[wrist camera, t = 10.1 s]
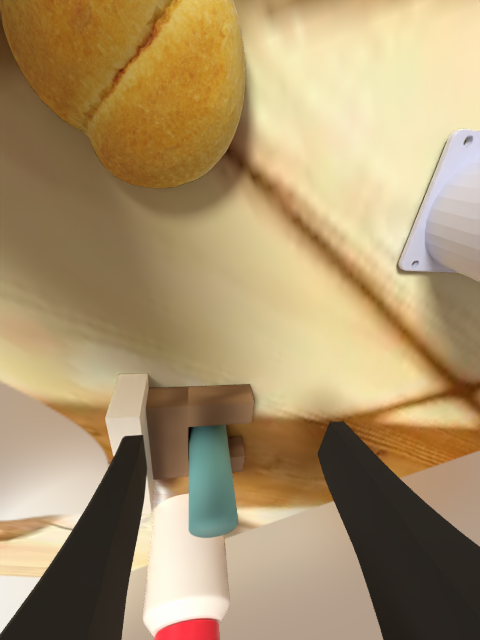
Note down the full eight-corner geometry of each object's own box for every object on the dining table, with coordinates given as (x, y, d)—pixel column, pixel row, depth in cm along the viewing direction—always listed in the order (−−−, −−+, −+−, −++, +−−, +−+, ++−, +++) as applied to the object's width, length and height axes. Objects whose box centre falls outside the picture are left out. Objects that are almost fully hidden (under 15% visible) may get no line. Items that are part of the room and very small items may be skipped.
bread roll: (157, 215, 16) (148, 233, 12) (-10, 32, 11) (-98, -18, 8) (278, 104, 14) (306, 89, 10) (135, -167, 9) (103, -347, 6)
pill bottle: (186, 533, 35) (184, 673, 25) (138, 515, 31) (115, 672, 22) (234, 506, 33) (252, 645, 24) (190, 484, 29) (190, 639, 20)
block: (249, 384, 23) (254, 403, 21) (239, 451, 28) (242, 471, 26) (148, 388, 22) (145, 408, 20) (155, 458, 26) (153, 479, 24)
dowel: (226, 409, 24) (240, 510, 17) (224, 433, 26) (236, 533, 19) (188, 412, 24) (188, 516, 17) (189, 436, 25) (188, 540, 18)
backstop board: (147, 373, 21) (139, 416, 17) (156, 467, 27) (151, 513, 23) (119, 374, 20) (105, 418, 17) (134, 469, 27) (126, 516, 23)
